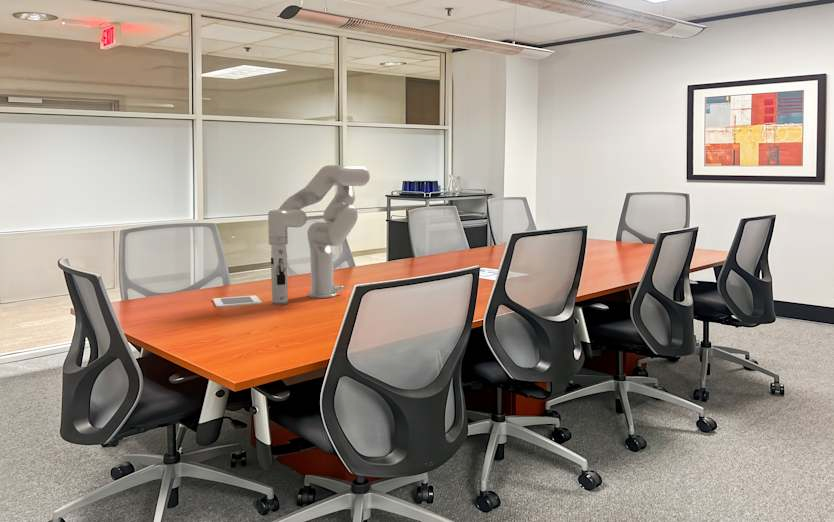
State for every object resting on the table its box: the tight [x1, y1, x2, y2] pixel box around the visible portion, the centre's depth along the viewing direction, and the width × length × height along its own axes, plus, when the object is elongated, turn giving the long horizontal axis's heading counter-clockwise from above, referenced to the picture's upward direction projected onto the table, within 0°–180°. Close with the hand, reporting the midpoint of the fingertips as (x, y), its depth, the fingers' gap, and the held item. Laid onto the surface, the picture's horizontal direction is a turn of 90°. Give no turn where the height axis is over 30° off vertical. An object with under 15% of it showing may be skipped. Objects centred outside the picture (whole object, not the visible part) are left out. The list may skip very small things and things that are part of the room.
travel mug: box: [270, 257, 289, 306], centre depth 295 cm, size 6×7×20 cm
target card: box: [212, 294, 263, 308], centre depth 301 cm, size 18×16×1 cm
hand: (278, 282), depth 295 cm, fingers open, 9 cm apart
